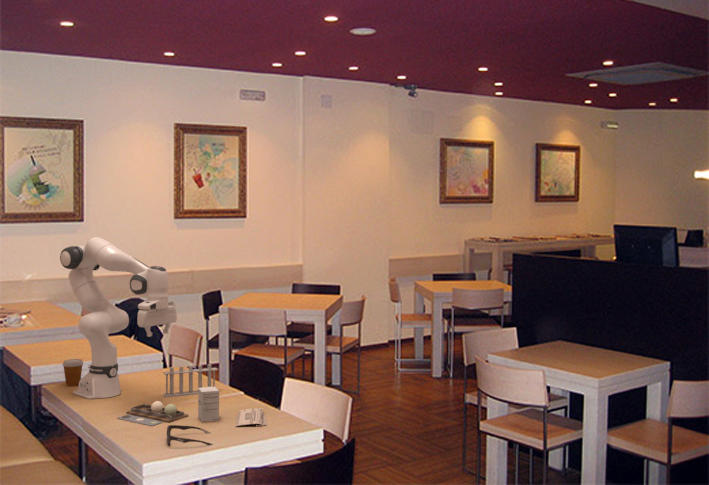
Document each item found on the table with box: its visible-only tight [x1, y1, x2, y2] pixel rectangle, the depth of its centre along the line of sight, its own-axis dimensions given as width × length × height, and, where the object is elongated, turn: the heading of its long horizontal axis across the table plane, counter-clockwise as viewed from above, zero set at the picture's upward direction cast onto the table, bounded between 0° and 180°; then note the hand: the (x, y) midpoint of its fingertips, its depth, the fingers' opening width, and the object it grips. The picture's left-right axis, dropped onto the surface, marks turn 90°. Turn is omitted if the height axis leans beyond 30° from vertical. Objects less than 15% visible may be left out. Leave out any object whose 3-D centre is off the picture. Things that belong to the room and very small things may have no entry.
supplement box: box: [197, 386, 220, 423], centre depth 290 cm, size 7×7×13 cm
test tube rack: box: [162, 363, 219, 398], centre depth 331 cm, size 25×4×13 cm, turn 116°
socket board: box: [125, 403, 189, 424], centre depth 295 cm, size 25×11×2 cm, turn 60°
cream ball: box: [150, 400, 164, 413], centre depth 295 cm, size 5×5×5 cm
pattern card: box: [116, 414, 164, 427], centre depth 287 cm, size 20×6×1 cm, turn 60°
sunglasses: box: [166, 424, 213, 447], centre depth 263 cm, size 16×17×5 cm
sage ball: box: [164, 403, 178, 416], centre depth 291 cm, size 5×5×5 cm
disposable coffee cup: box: [62, 358, 84, 388], centre depth 344 cm, size 10×10×12 cm
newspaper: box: [235, 407, 267, 428], centre depth 292 cm, size 23×12×2 cm, turn 6°
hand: (157, 334), depth 309 cm, fingers open, 8 cm apart
